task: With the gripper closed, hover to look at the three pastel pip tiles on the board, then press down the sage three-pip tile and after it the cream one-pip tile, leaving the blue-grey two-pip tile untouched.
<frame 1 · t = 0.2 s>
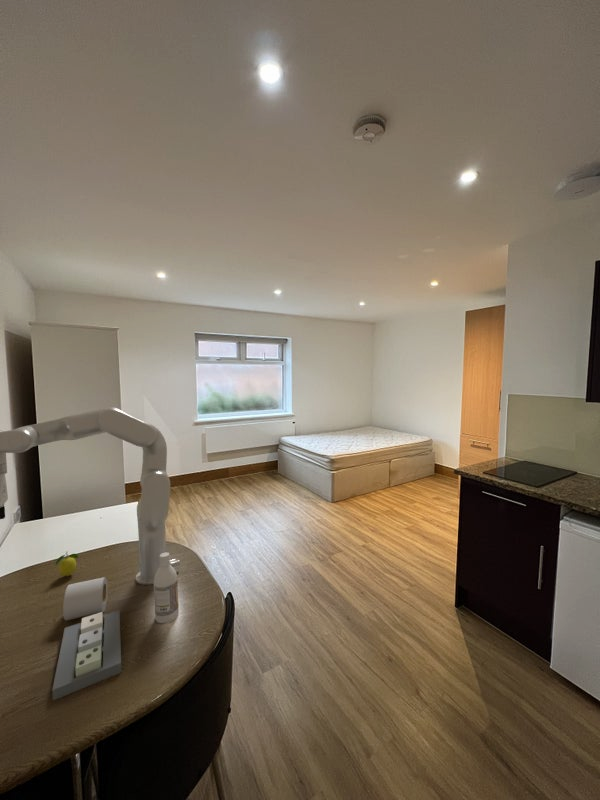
tile three: (89, 661, 82), point 3 cm above the table, slide at 0.0 cm
board: (91, 652, 88), on the table
lemon: (67, 577, 125), on the table
bath foam: (167, 616, 102), on the table
tile one: (92, 624, 95), point 3 cm above the table, slide at 0.0 cm
tile two: (90, 641, 88), point 3 cm above the table, slide at 0.0 cm
toilet paper: (87, 613, 104), on the table
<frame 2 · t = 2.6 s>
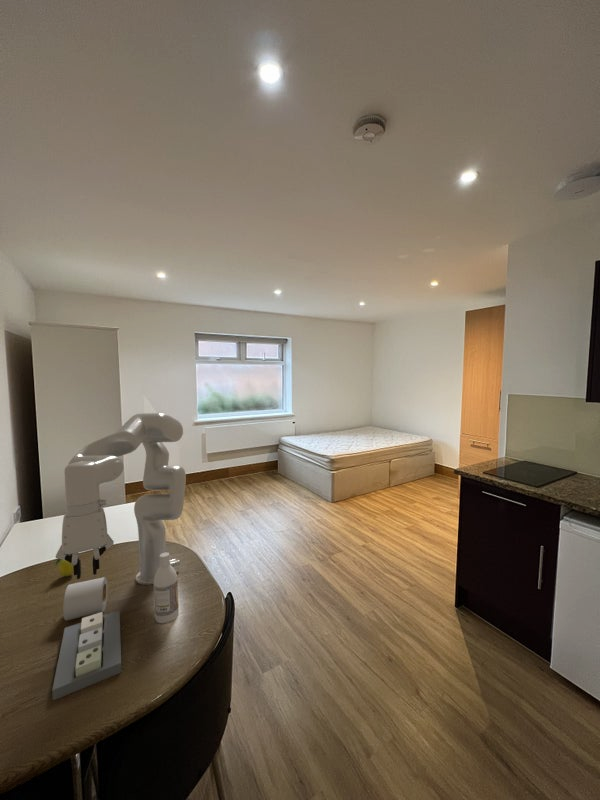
hand: (87, 573, 87), 22 cm above the table, fingers open, 3 cm apart
nothing on the table moved.
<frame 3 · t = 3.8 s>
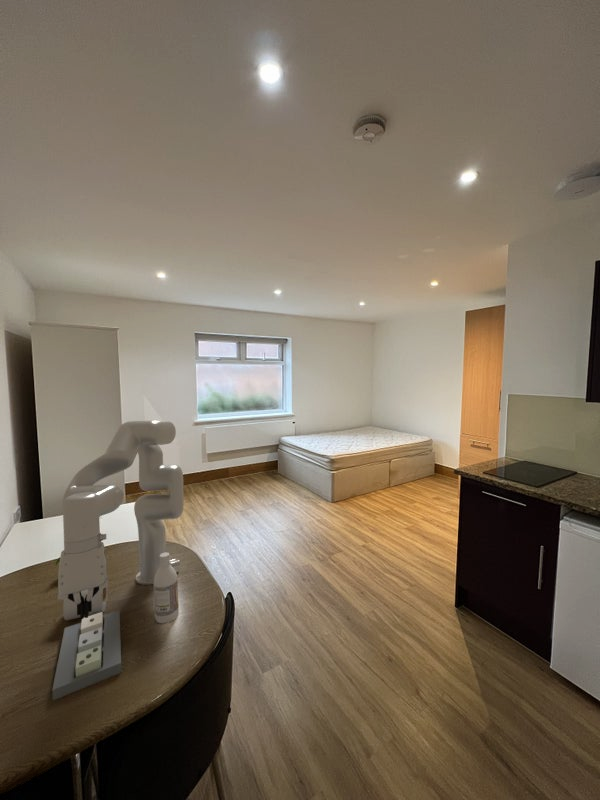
hand: (84, 615, 81), 15 cm above the table, fingers closed
nothing on the table moved.
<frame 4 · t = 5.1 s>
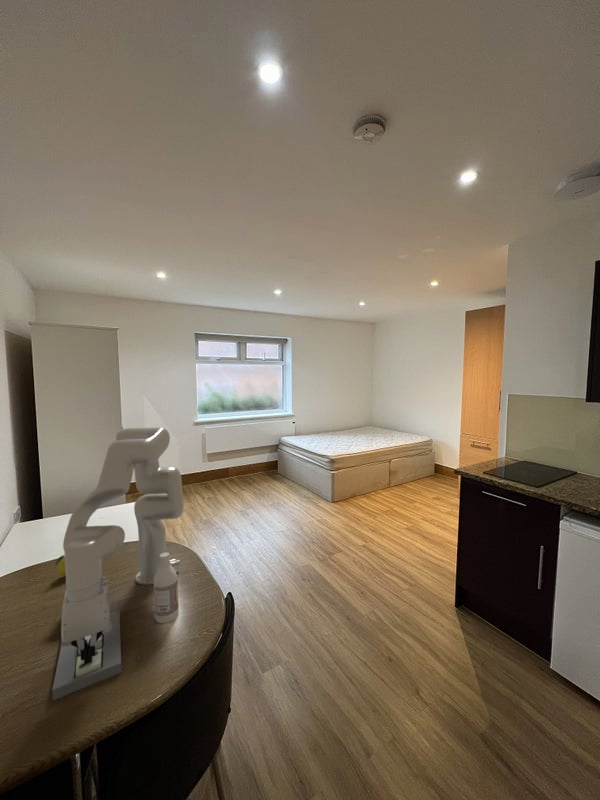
hand: (88, 659, 81), 4 cm above the table, fingers closed
tile three: (89, 665, 82), point 2 cm above the table, slide at 1.0 cm
everything else where it was.
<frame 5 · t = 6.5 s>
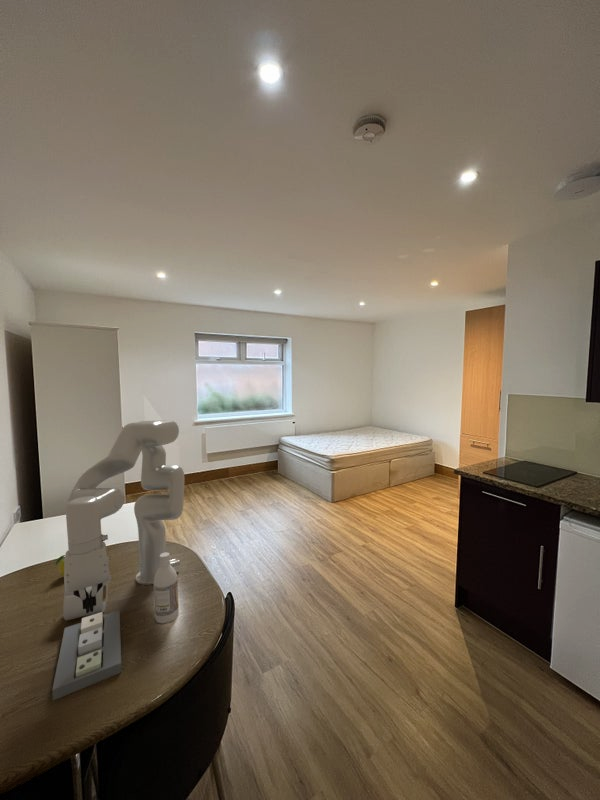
hand: (89, 609, 87), 12 cm above the table, fingers closed
nothing on the table moved.
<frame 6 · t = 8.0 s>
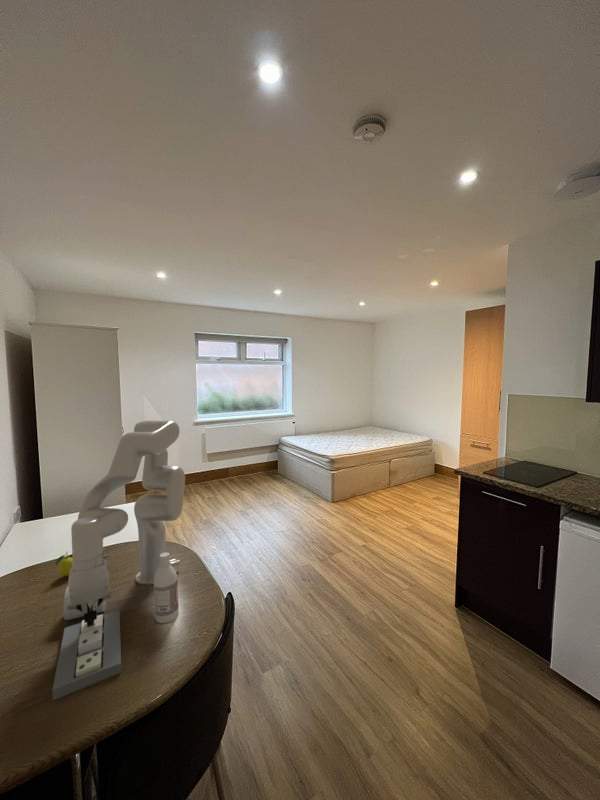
hand: (90, 622, 94), 4 cm above the table, fingers closed
tile one: (92, 627, 95), point 2 cm above the table, slide at 0.7 cm, touching gripper
everything else where it was.
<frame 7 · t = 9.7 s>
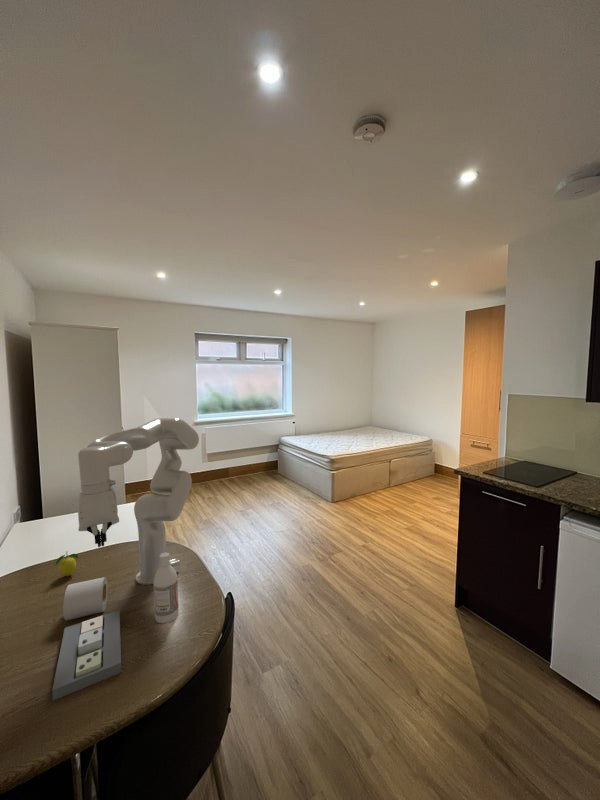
hand: (101, 544, 100), 24 cm above the table, fingers closed
tile one: (92, 628, 95), point 2 cm above the table, slide at 1.1 cm
everything else where it was.
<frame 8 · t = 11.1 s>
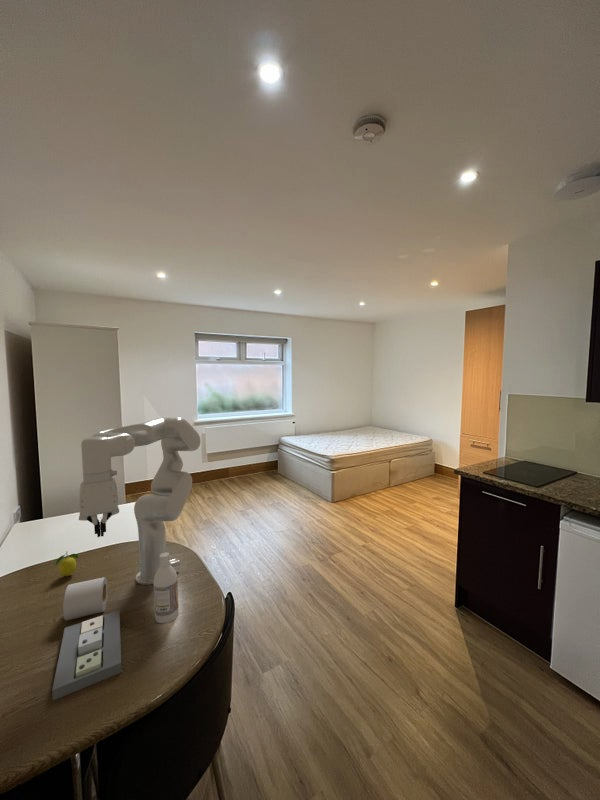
hand: (100, 535, 100), 27 cm above the table, fingers closed
nothing on the table moved.
at the end: tile three slide at 1.1 cm; tile one slide at 1.1 cm; tile two slide at 0.0 cm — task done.
